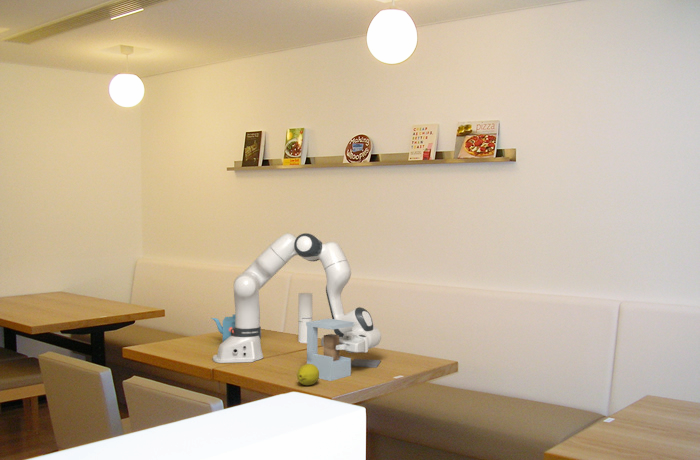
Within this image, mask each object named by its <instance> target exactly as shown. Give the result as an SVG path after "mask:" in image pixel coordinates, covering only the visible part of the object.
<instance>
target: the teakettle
mask: <svg viewBox="0 0 700 460" xmlns="http://www.w3.org/2000/svg"><path fill="white" fill-rule="evenodd" d="M210 319H211V320H212V321H214V322H215V324H216V326H217V330H218V332H219V333H220V334H221V335H222V342H224V341H225V340H226V339H227V338H229V337H230V336H231V332H230V331H229V328H230V327H232V328H234V327H235V314H232V316H225V317H224V318H223V320H222V325H221V322H220V320H219V318H217V317H211V318H210Z"/></svg>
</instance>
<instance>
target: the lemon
mask: <svg viewBox="0 0 700 460" xmlns="http://www.w3.org/2000/svg"><path fill="white" fill-rule="evenodd" d="M296 378H297V381H298V382H299V383H300V384H302V385H303V386H311V385H314V384H316V382H317V381H318V380H319V379H320V378H319V370H318V368H317V367H316V366H315V365H313V364H307V363H306V364H303V365H301V366H300V367H299V368H298V369H297V373H296Z"/></svg>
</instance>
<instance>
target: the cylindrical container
mask: <svg viewBox="0 0 700 460" xmlns="http://www.w3.org/2000/svg"><path fill="white" fill-rule="evenodd" d="M310 321H313V292H299V293H298V325H297V326H298V334H297V335H298V336H297V337H298V340H297V341H298V343H299V342H300V344H307V326H306V322H310Z"/></svg>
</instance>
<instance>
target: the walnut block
mask: <svg viewBox="0 0 700 460" xmlns="http://www.w3.org/2000/svg"><path fill="white" fill-rule="evenodd" d="M323 337H324V347H323V355H324V356H329V357H333V361H337V360H339V356H340V350H335V349H334V345H339V335H336V334H335V333H329V334H325V335H323Z"/></svg>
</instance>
